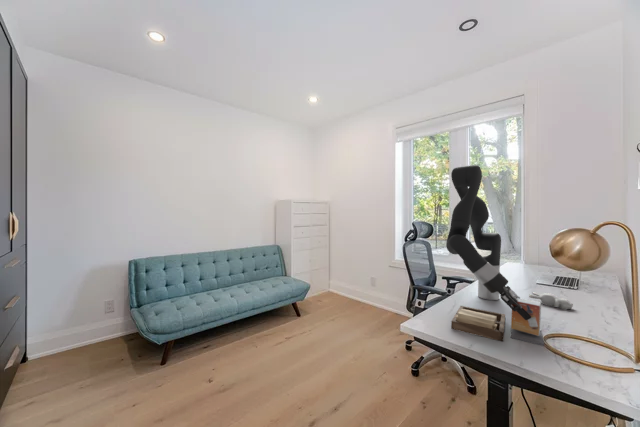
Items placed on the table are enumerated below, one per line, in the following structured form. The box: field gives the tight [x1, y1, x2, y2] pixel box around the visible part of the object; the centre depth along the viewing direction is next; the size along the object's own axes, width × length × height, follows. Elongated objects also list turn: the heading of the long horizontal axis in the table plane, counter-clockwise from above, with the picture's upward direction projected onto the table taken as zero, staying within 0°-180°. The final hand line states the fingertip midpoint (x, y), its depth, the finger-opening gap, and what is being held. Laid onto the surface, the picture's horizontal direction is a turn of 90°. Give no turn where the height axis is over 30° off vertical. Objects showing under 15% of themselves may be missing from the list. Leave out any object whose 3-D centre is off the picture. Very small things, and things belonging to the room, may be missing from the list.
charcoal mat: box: [510, 328, 545, 346], centre depth 95 cm, size 12×9×1 cm
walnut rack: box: [450, 305, 506, 342], centre depth 103 cm, size 20×16×3 cm
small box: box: [510, 297, 542, 336], centre depth 95 cm, size 8×6×10 cm
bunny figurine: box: [528, 291, 574, 310], centre depth 125 cm, size 10×5×15 cm
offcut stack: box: [456, 309, 497, 330], centre depth 99 cm, size 6×12×6 cm, turn 50°
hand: (528, 315), depth 95 cm, fingers closed on small box, 6 cm apart
